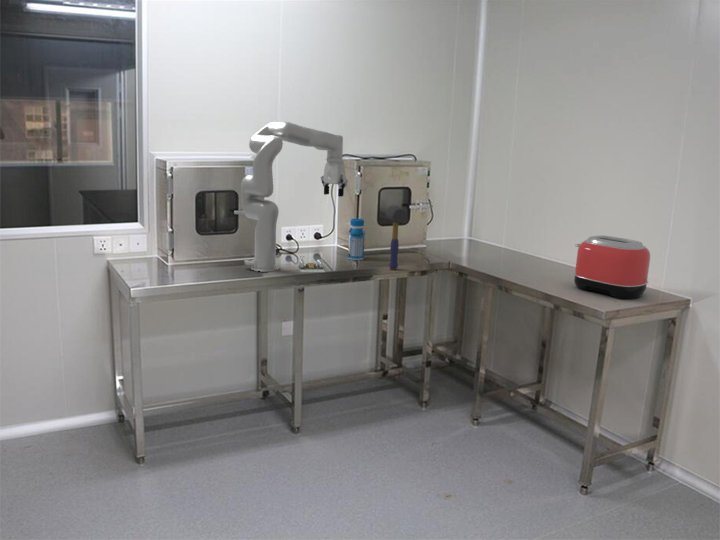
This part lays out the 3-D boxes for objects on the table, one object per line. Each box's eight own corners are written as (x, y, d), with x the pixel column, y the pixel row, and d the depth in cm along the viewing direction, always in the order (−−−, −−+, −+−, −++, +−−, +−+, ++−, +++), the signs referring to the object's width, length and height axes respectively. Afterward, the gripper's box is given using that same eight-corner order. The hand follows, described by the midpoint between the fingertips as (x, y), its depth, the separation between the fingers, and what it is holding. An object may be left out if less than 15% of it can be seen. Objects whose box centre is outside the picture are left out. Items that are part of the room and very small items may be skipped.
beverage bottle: (354, 261, 325) (356, 221, 320) (344, 258, 331) (345, 218, 326) (367, 259, 330) (369, 219, 326) (356, 256, 336) (358, 217, 332)
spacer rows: (300, 269, 300) (300, 262, 299) (298, 265, 307) (299, 259, 307) (322, 269, 302) (323, 262, 301) (320, 265, 309) (321, 259, 308)
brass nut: (306, 268, 302) (306, 264, 301) (305, 266, 305) (305, 262, 305) (316, 268, 302) (316, 264, 302) (315, 266, 306) (315, 262, 306)
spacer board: (300, 273, 294) (300, 272, 294) (298, 266, 307) (298, 265, 307) (324, 273, 296) (324, 272, 296) (321, 266, 309) (321, 265, 309)
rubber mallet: (382, 266, 315) (385, 204, 308) (397, 266, 317) (400, 204, 310) (389, 272, 303) (392, 207, 297) (404, 272, 305) (408, 208, 298)
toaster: (654, 295, 280) (662, 242, 275) (627, 303, 265) (635, 247, 260) (586, 280, 304) (592, 231, 298) (558, 286, 289) (564, 235, 284)
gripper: (316, 159, 325) (315, 194, 329) (342, 161, 314) (341, 197, 318) (327, 159, 331) (326, 193, 334) (352, 161, 320) (351, 196, 324)
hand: (333, 195), depth 326 cm, fingers open, 9 cm apart
